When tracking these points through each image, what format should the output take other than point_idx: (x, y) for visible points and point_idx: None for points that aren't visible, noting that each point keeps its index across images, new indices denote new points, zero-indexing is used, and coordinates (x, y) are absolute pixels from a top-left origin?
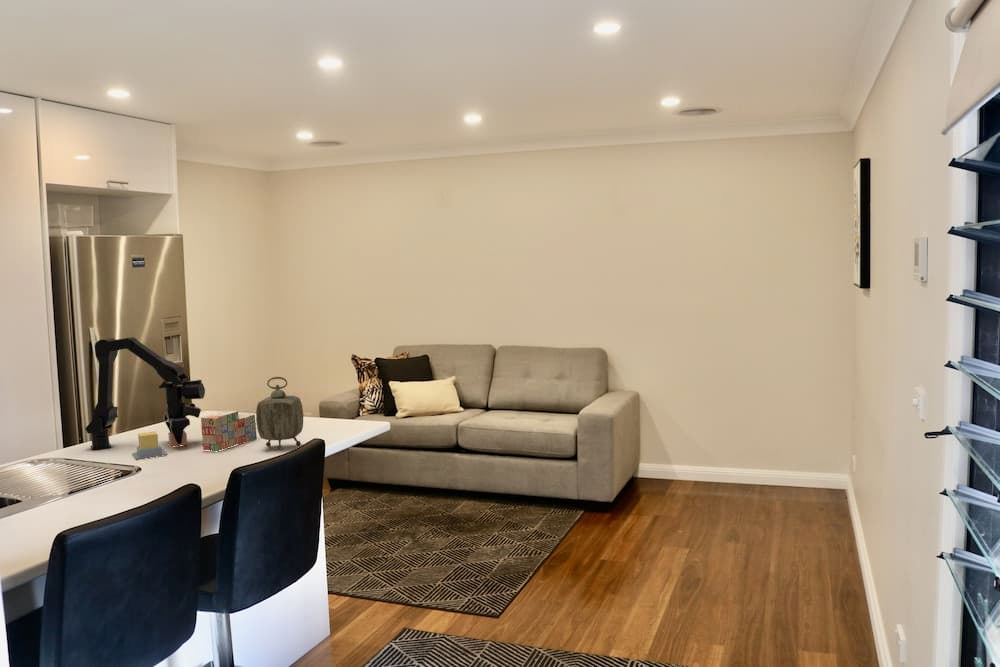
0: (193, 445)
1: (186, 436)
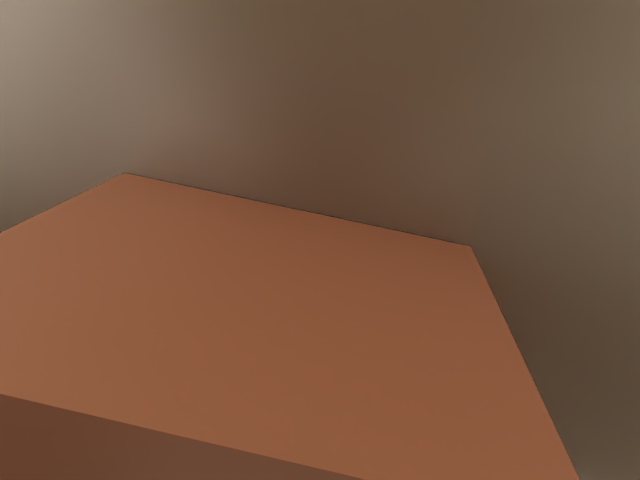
0: (604, 137)
1: (539, 406)
